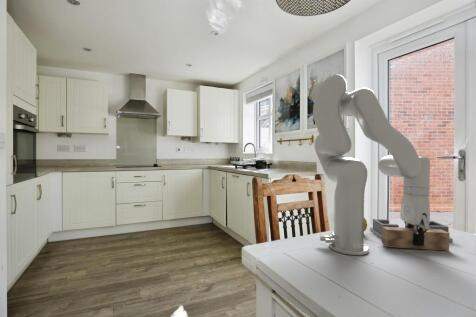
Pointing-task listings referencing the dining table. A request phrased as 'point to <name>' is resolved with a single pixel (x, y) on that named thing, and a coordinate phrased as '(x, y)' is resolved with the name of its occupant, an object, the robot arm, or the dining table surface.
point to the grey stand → (385, 223)
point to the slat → (404, 238)
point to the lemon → (365, 224)
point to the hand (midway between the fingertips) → (414, 242)
